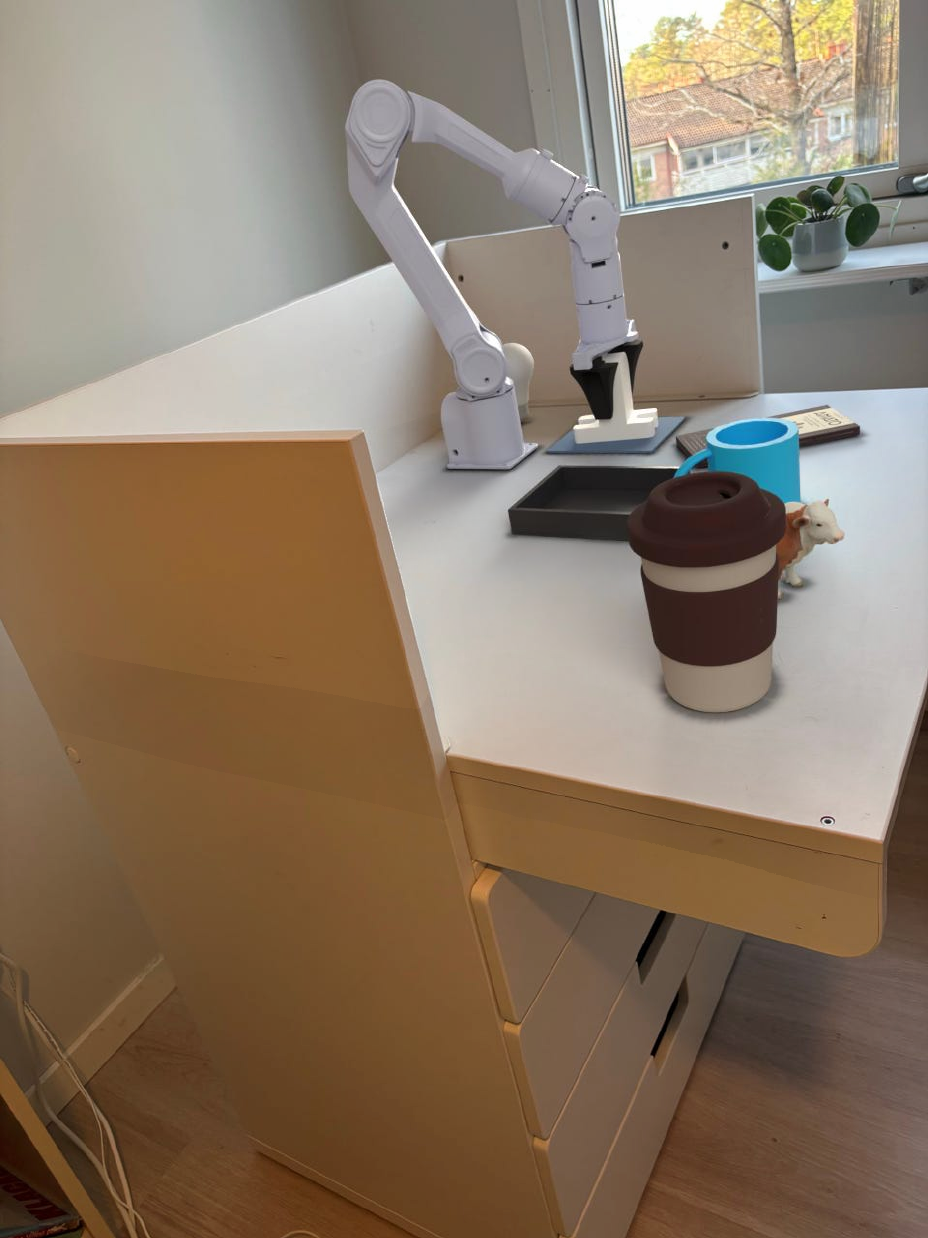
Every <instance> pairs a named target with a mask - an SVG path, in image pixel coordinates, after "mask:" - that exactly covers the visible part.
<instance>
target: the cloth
mask: <svg viewBox="0 0 928 1238" xmlns="http://www.w3.org/2000/svg"><path fill="white" fill-rule="evenodd" d="M686 419H687V416H658V424H659V425H658V427H656V428H655V435H654V436H653V437H650V438H640V439H628V440H616V441H604V442H592V443H580V444H577V443H575V437H574V430H573V428H572V429H571V430H570V431H569V432H567V433H566V434H565V435H564V436H563V437H561V438H560V439H559V440H557V441H556V442H555V443H554V444H553V445H552V446H551V447H550V448H548V449H547V450H545V451H546V454H653V453H654V452H655V451H656V450H657V449H658V448H659V447H660V446H661V445H662V444H663V443H664V442H665V441H666V439H668V438H669V437H670V435H671V434H672V433H674V431H676V430H677V429H678V428H679V427H680V425H681V424H683V423H684V421H686ZM577 425H579V423H578V424H577Z"/></svg>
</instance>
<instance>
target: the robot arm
mask: <svg viewBox="0 0 928 1238" xmlns="http://www.w3.org/2000/svg"><path fill="white" fill-rule="evenodd" d="M407 93H408V94H407ZM407 93H406V91H404V89H402V88H401V87H400V86H399V85H397V84H396V83H394V82H392V81H390V80H386V79H380V78H379V79H378V78H377V79H372V80H369V81H367V82H365V83H364V84H362V85H361V86H360V87H359V88H358V89H357V90H356V92H355V93H354V95H353V97H352V100H351V103H350V106H349V110H348V114H347V118H346V121H345V125H344V133H345V141H346V157H347V182H348V185H347V186H348V191H349V194H350V197H351V199H352V201H353V202H354V203H355V205H356V206H357V208H358V210H359V211H360V213H361V214H362V216H363V217H364V219H365V221H366V222H367V224H368V225H369V227H370V228H371V230H372V231H373V233H374V235H375V236H376V238H377V240H378V241H379V242H380V244H381V246H382V248H383V249H384V250H385V252H386V253H387V255H388V256H389V258H390V259H391V261H392V262H393V264H394V266H395V267H396V269H397V271H398V273H400V275H401V277H402V278H403V280H404V281H405V283H406V285H407V286H408V287H409V289H410V290H411V292H412V294H413V295H414V297H415V298H416V300H417V302H418V304H420V307H421V308H422V309H423V310H424V312H425V314H426V316H427V318H428V319H429V321H430V322H431V324H432V325H433V327H434V328H435V330H436V331H437V333H438V335H439V338H440V340H441V342H442V344H443V346H444V348H445V351H446V352H447V354H448V355H449V357H450V359H451V362H452V364H453V371H454V377H455V380H456V383H457V385H458V386H459V387H456V390H455V391H452V392H449V393H448V394H447V395H446V396H445V397H444V398H443V400H442V403H441V406H440V423H441V428H442V432H443V437H444V443H445V447H446V452H447V457H448V460H449V462H448V463H447V464H446V468H447V469H449V470H455V469H456V470H511V469H512V468H514V467H515V466H516V465H518V464H519V463H520V462H521V461H523V460H524V459H525V458H526V457H528V456H529V455H530V454H531V453H532V452H533V451H535V450H536V449H537V448H538V447H539V445H538V443H537V442H525V441H524V436H523V435H524V434H523V429H522V424H521V423H522V422H520V417H519V411H518V405H517V399H516V394H515V388H514V382H513V380H512V379H510V378H508V377H507V372H508V366H507V361H506V358H505V356H504V348H503V345H504V344H503V343H502V341H501V339H500V337H499V336H497V334H496V333H494V332H493V331H491V330H489V328H488V329H487V328H486V327H485V326H484V325H483V324H482V322H481V321H480V320H479V318H478V316H477V315H476V313H475V312H474V311H473V310H472V309H471V307H470V306H469V304H468V303H467V302H466V300H465V298H464V297H463V295H462V293H461V292H460V290H459V289H458V287H457V285H456V283H455V282H454V280H453V278H451V275H450V274H449V273H448V270H446V268H445V266H444V264H443V263H442V261H441V259H440V258H439V256H438V255H437V253H436V251H435V250H434V248H433V246H432V245H431V243H430V241H429V240H428V239H427V237H426V236H425V234H424V232H423V230H422V229H421V227H420V225H419V224H418V223H417V221H416V219H415V218H414V216H413V215H412V213H411V211H410V210H409V208H408V206H407V204H406V203H405V201H404V200H403V197H401V195H400V193H399V191H398V190H397V188H396V187H395V178H396V174H397V168H398V163H399V158H400V157H399V155H400V153H401V150H402V148H403V146H404V144H405V142H406V141H407V139H408V136H409V135H410V133H411V132H412V137H411V143H415V144H416V143H417V144H439V145H441V146H443V147H444V148H446V149H448V150H450V151H452V152H453V153H455V154H456V155H459V156H461V157H462V158H464V159H465V160H467V161H468V162H471V163H472V164H474V165H476V166H478V167H479V168H481V169H483V170H485V171H486V172H488V173H490V174H492V175H493V176H495V177H497V178H498V179H500V180H501V182H502V186H503V187H502V188H503V190H504V196H505V197H506V199H508V200H510V201H511V202H513V203H514V204H516V205H518V206H520V207H521V208H523V209H524V210H526V211H527V212H530V213H531V214H533V215H534V216H536V217H537V218H539V219H541V220H543V222H546V223H547V224H549V225H551V227H552V226H553V227H556V226H561V227H562V229H563V231H564V232H565V234H566V235H567V236H568V237H570V239H569V240H568V241H569V249H570V257H571V261H570V271H571V278H572V285H573V286H572V287H573V292H574V300H575V301H574V302H575V307H576V314H577V315H576V316H577V321H578V322H577V323H578V328H579V336H580V339H579V340H578V344H577V346H576V349H575V351H574V352H573V353H572V354H571V357H572V364H570V365H569V373H570V375H571V377H572V378H573V379H574V380H575V381H576V382H577V383H578V385H579V387H580V388H581V390H582V392H583V394H584V397H585V398H586V400H587V403H588V406H589V409H590V410H591V413H592V415H594V418H595V419H596V420H604V419H611V418H612V416H613V386H614V378H615V373H616V370H617V366H618V364H619V363H618V362H611V363H605V360H603V361H602V356H603V355H605V354H612V353H620V352H625V353H626V356H627V359H628V365H629V373H630V382H631V391H632V397H633V396H634V395H633V394H634V387H635V378H636V372H637V366H638V362H639V358H640V355H641V352H642V350H643V347H644V341H643V340H642V339H639V332H638V331H637V330H636V329H637V328H636V323H635V322H636V321H635V319H628V316H627V307H626V299H625V291H624V281H623V272H622V262H621V254H620V252H619V251H618V244H619V243H618V237H617V231H618V229H619V226H620V224H621V223H620V222H621V213H620V211H618V207H617V205H616V203H615V201H614V199H613V198H612V197H611V195H609V194H607V193H606V192H604V191H602V190H599V188H598V186H594V185H588V184H589V182H590V177H588V176H587V175H585V174H584V173H583V174H582V173H580V175H579V176H578V175H576V174H575V173H573V172H572V171H570V170H568V169H567V168H565V167H564V166H562V165H561V164H559V163H558V162H556V161H554V160H553V157H554V153H553V152H551V151H550V150H548V149H546V148H542V149H541V151H538V150H537V149H536V148H534V147H529V148H526V149H524V150H523V149H522V150H520V151H515V152H514V151H513V150H512V149H510V148H509V147H506V146H505V145H504V144H503V143H501V142H500V141H498V140H497V139H495V138H493V137H492V136H490V135H489V134H487V133H485V132H484V131H482V130H481V129H480V128H478V127H477V126H475V125H474V124H473V123H471V122H469V121H467V120H466V119H464V118H463V117H462V116H460V115H458V114H457V113H456V112H454V111H452V110H451V109H449V108H448V107H447V106H445V105H443V104H441V103H439V102H437V101H434V100H433V99H430V98H428V97H425V96H422V95H420V94H417V93H415V92H412V91H410V90H407ZM411 100H412V101H411Z"/></svg>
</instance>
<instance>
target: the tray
mask: <svg viewBox="0 0 928 1238" xmlns="http://www.w3.org/2000/svg"><path fill="white" fill-rule="evenodd" d="M679 467H680V466H678V465H677V466H675V465H674V466H673V465H672V466H669V465H667V466H666V465H665V466H664V465H658V466H657V465H563V464H562V465H561V464H560V465H559V464H558V465H557V466H556V467H555V468H554V469H553V470H552V471H550V473H548V474H547V475H546V476H545V477H543V478H542V480H540V481H539V482H538V483H537V484H536V485H534V486H533V487H532V488H531V489H529V491H527V492H526V493H525V494H524V495H523V496H521V498H519V499H518V500H517V501H516V502H515V503H514V504H513V505H512V506H510V507H509V508H508V509H507V514H508V519H509V525H510V530H511V535H517V536H532V537H533V536H534V537H553V538H569V539H570V538H571V539H588V540H589V539H591V540H607V541H623V542H625V541H626V542H629V539H628V531H627V520H628V518H629V516H630V514H631V512H632V511H633V510H634V509H635V508H636V507H638V506H639V505H641V504H642V503H644V502H645V501H647V500H648V497H649V494H650V493H651V491H652V490H653V489H654V488H655V487H657V486H658V485H659V484H661V483H663V482H665V481H667V480H670V479H672V478H673V477H674V475H675V473H676V472H677V470H678V468H679ZM691 473H692V472H691V469H690V470H689V472H688V473H687V474H691Z"/></svg>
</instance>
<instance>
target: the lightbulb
mask: <svg viewBox="0 0 928 1238" xmlns="http://www.w3.org/2000/svg"><path fill="white" fill-rule="evenodd" d="M502 345H503V348H504V356H505V358H506V361H507V366H508V372H507V377H508V378H510V379H512V380H513V382H514V388H515V394H516V399H517V405H518V411H519V417H520V423H523V422H525V420H526V419H527V418H528V417H529V416H530V411H529V400H530V398H529V397H530V396H529V388H530V383H531V380H532V376H533V374H534V369H535V361H534V358H533V355H532V353H531V352H530V350H528V349H527V347H525V346H524V345H522V344H520V343H516V342H507V343H504V344H502Z"/></svg>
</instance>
